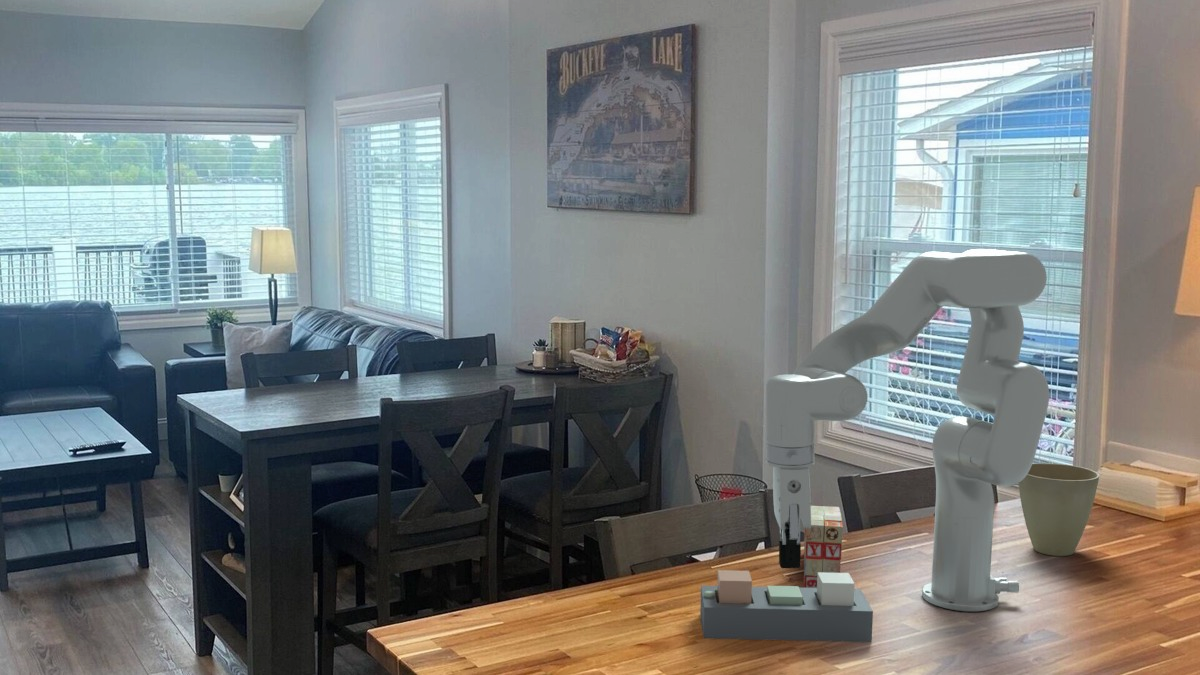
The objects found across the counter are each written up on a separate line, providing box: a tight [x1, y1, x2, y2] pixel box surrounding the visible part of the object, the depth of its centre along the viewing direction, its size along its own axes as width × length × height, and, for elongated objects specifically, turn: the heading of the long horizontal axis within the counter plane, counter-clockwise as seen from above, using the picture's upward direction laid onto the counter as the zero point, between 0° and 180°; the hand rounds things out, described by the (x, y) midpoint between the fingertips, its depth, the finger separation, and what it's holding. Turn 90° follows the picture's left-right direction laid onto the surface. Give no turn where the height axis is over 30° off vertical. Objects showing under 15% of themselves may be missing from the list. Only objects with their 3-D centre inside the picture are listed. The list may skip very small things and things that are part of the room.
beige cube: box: [716, 569, 753, 604], centre depth 183 cm, size 5×5×5 cm
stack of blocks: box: [803, 505, 844, 588], centre depth 210 cm, size 21×6×12 cm, turn 170°
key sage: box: [766, 585, 803, 605], centre depth 183 cm, size 5×5×5 cm
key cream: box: [817, 572, 855, 606], centre depth 182 cm, size 5×5×5 cm
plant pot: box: [1017, 462, 1100, 557], centre depth 224 cm, size 15×15×16 cm
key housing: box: [699, 585, 874, 643], centre depth 183 cm, size 26×10×6 cm, turn 88°
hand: (789, 566), depth 182 cm, fingers closed
